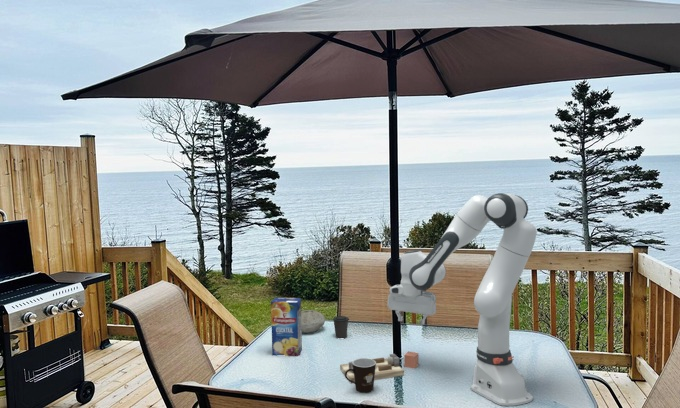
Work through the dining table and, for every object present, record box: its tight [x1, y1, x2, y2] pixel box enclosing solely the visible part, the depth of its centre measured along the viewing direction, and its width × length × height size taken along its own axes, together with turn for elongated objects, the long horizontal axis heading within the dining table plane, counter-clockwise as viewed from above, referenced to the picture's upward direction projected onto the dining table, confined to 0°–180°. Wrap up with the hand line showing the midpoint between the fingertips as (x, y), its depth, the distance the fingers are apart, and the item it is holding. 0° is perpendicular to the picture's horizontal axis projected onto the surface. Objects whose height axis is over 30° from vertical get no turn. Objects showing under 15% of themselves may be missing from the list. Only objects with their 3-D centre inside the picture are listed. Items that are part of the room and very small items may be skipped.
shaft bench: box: [339, 353, 405, 384], centre depth 194 cm, size 14×22×5 cm, turn 107°
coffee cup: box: [332, 315, 350, 339], centre depth 237 cm, size 8×8×10 cm
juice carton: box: [270, 297, 303, 357], centre depth 217 cm, size 12×8×24 cm, turn 82°
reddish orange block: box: [404, 351, 420, 370], centre depth 200 cm, size 4×4×5 cm
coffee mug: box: [344, 357, 376, 394], centre depth 179 cm, size 12×9×10 cm
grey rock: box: [301, 309, 326, 334], centre depth 248 cm, size 18×18×10 cm
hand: (411, 322), depth 199 cm, fingers open, 8 cm apart
